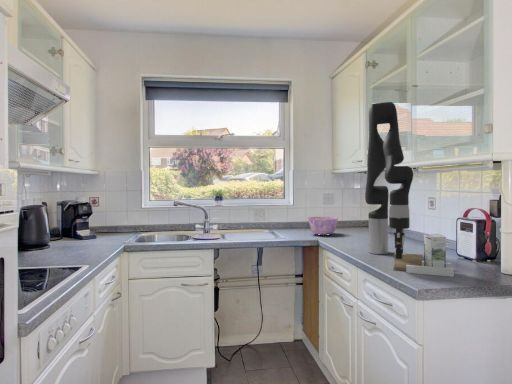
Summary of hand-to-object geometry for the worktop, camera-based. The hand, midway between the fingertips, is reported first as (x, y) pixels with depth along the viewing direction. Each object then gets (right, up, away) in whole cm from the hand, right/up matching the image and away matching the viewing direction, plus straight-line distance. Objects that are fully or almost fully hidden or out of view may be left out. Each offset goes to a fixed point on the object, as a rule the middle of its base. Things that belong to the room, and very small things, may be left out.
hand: (399, 256), depth 144 cm
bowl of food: (-12, -4, +101) cm, 102 cm away
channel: (+8, -5, -3) cm, 10 cm away
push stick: (+3, -5, -1) cm, 6 cm away
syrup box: (+12, -5, -5) cm, 14 cm away
